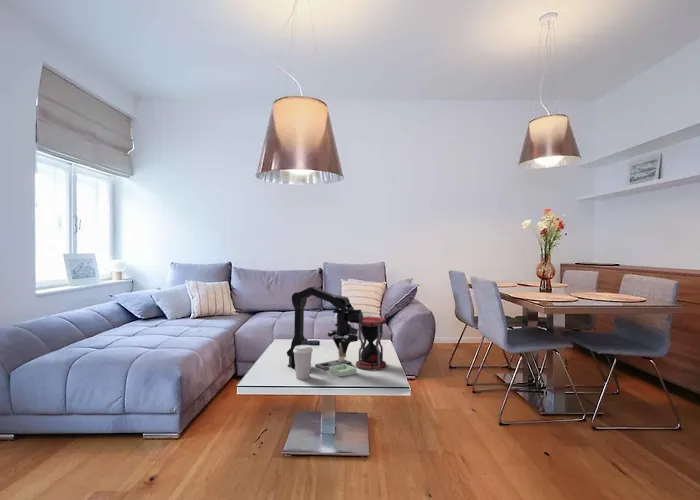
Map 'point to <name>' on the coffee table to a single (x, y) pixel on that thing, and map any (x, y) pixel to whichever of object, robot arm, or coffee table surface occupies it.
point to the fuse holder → (330, 364)
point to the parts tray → (342, 370)
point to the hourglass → (371, 344)
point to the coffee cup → (302, 361)
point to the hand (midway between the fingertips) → (342, 352)
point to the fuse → (340, 359)
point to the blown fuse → (341, 351)
